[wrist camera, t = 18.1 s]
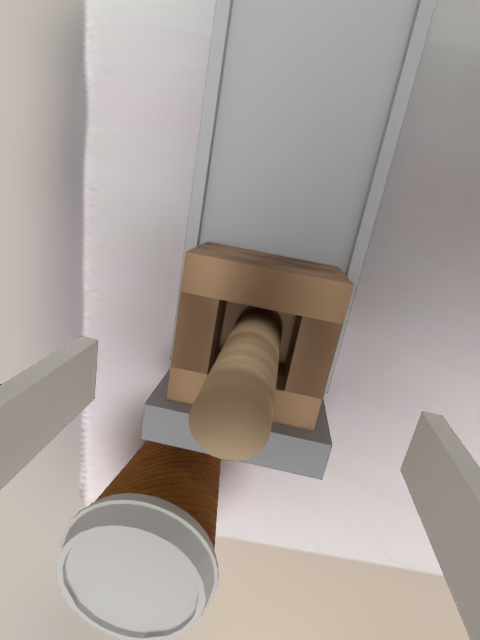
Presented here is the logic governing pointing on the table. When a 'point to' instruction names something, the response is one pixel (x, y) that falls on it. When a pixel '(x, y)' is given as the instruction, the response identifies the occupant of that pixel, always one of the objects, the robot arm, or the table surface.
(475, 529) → the robot arm
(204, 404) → the dowel
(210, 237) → the track
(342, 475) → the table surface
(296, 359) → the block
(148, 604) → the disposable coffee cup
